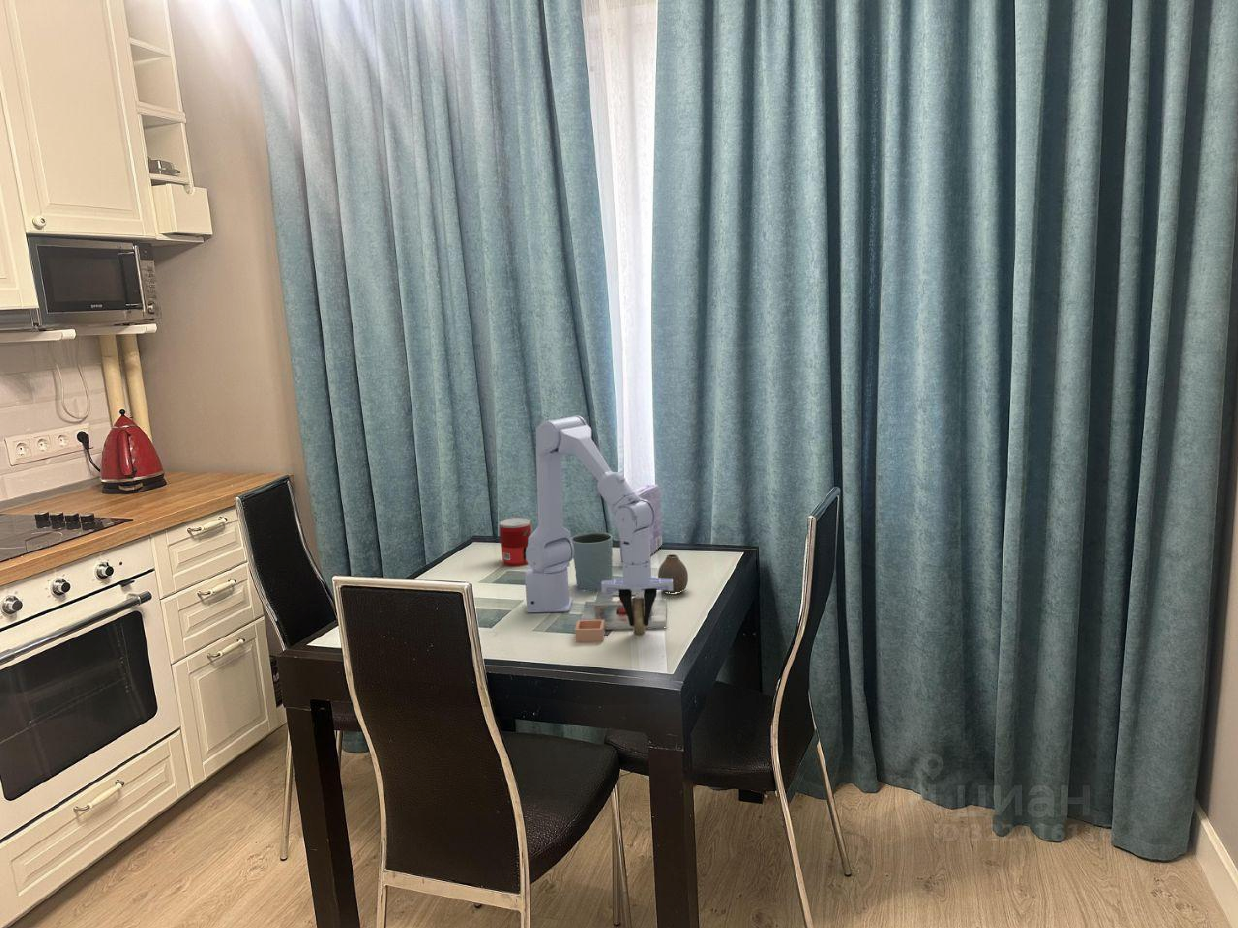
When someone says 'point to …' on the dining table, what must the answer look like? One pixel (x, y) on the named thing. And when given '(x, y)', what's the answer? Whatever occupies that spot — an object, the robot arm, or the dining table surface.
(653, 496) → the cake pan box
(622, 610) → the button
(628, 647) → the dining table surface
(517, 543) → the canned food
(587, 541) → the green cylindrical pot
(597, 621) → the holder
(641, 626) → the stylus
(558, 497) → the robot arm
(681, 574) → the vase
